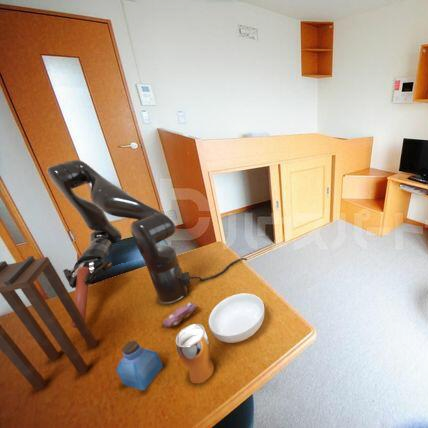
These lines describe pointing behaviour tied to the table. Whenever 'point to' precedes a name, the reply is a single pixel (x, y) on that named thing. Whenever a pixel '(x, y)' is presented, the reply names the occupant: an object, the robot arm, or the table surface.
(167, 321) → the video game controller
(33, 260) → the shelf stand
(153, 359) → the perfume bottle
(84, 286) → the sausage
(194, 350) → the silver metal tumbler
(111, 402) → the table surface
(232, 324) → the cereal bowl
